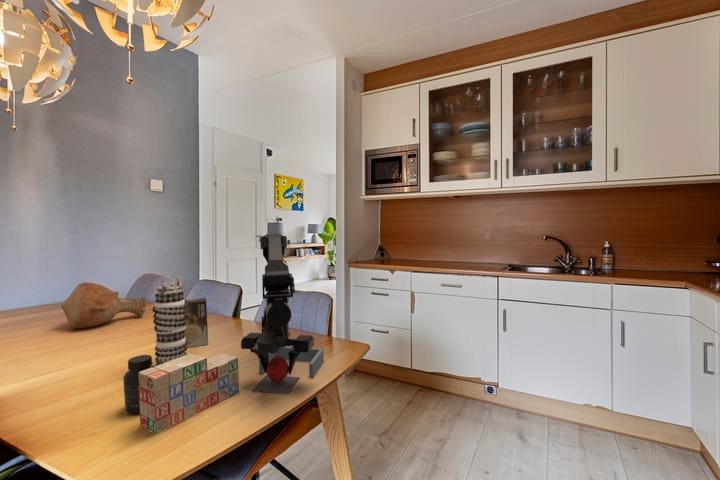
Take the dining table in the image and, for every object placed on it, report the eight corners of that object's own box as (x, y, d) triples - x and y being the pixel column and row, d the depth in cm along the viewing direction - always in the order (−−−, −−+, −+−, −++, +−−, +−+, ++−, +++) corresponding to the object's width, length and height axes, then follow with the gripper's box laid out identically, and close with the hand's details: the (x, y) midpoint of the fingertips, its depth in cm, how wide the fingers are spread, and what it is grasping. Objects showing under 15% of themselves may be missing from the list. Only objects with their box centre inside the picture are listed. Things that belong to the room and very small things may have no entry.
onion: (283, 388, 91) (282, 358, 90) (263, 387, 92) (262, 357, 92) (292, 378, 96) (291, 350, 96) (273, 377, 97) (271, 349, 97)
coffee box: (208, 339, 131) (207, 297, 130) (208, 345, 125) (207, 300, 124) (180, 343, 127) (179, 299, 126) (179, 348, 121) (178, 303, 121)
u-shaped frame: (259, 374, 101) (259, 360, 100) (275, 358, 112) (275, 346, 112) (312, 377, 98) (312, 363, 98) (323, 361, 110) (323, 348, 110)
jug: (53, 298, 149) (131, 295, 173) (55, 339, 141) (137, 330, 165) (66, 273, 140) (147, 273, 164) (70, 316, 132) (154, 309, 156)
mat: (251, 391, 90) (251, 389, 90) (266, 376, 99) (266, 374, 99) (288, 394, 89) (288, 392, 89) (299, 378, 98) (299, 377, 98)
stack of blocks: (223, 387, 93) (222, 341, 93) (239, 392, 90) (238, 345, 89) (139, 427, 75) (137, 371, 74) (155, 436, 72) (154, 377, 71)
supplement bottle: (135, 401, 85) (133, 353, 85) (164, 399, 86) (162, 352, 86) (118, 416, 79) (116, 364, 78) (149, 415, 79) (148, 363, 79)
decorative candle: (154, 376, 99) (151, 289, 98) (153, 365, 107) (151, 285, 106) (189, 369, 104) (187, 286, 103) (186, 359, 112) (184, 282, 111)
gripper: (229, 323, 87) (230, 384, 87) (301, 326, 84) (302, 389, 85) (250, 312, 98) (251, 366, 98) (314, 314, 95) (314, 370, 96)
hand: (278, 373), depth 94 cm, fingers open, 6 cm apart
